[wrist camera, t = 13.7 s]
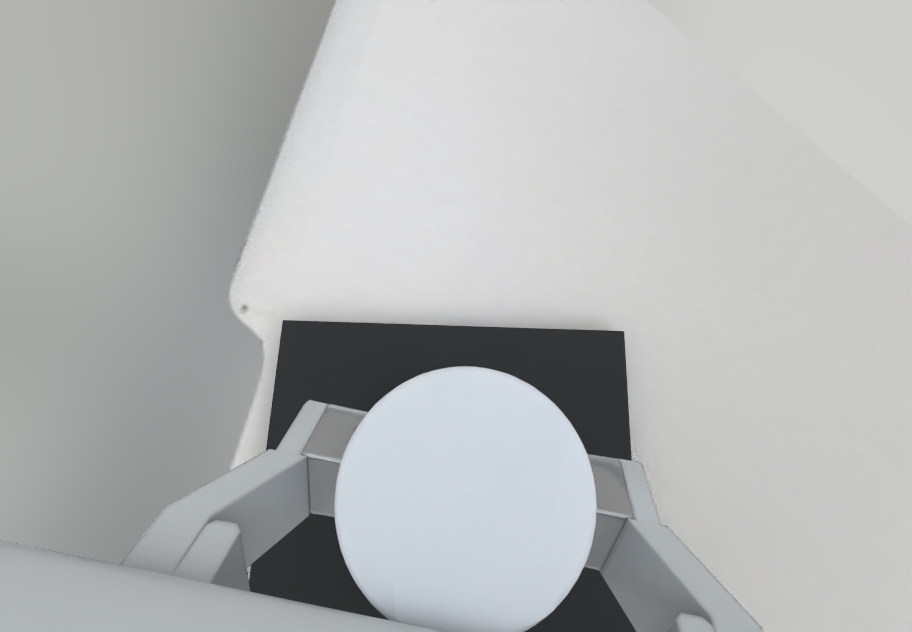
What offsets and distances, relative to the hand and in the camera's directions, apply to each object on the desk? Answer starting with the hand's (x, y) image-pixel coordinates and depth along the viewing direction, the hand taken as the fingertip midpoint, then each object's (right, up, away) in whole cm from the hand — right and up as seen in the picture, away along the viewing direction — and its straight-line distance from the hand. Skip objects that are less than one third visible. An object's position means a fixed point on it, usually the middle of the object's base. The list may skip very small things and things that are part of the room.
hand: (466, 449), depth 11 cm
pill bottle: (0, -2, +4) cm, 5 cm away
